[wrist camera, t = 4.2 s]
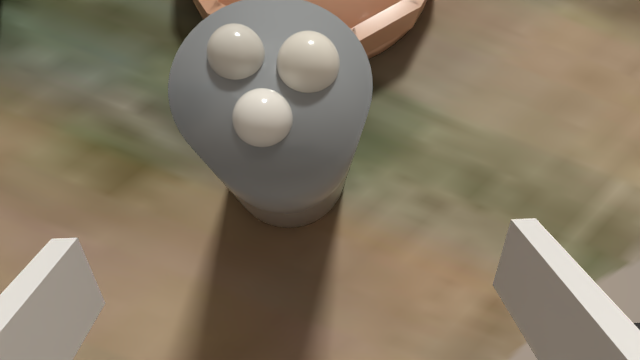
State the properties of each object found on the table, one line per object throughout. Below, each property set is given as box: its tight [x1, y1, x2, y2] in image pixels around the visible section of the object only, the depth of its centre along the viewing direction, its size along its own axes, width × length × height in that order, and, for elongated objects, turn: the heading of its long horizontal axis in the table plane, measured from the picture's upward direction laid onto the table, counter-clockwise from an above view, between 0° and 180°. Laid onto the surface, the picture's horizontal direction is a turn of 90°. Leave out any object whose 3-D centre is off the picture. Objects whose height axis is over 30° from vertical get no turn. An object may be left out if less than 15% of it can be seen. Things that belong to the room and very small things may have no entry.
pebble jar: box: [168, 0, 373, 228], centre depth 18 cm, size 7×7×12 cm
